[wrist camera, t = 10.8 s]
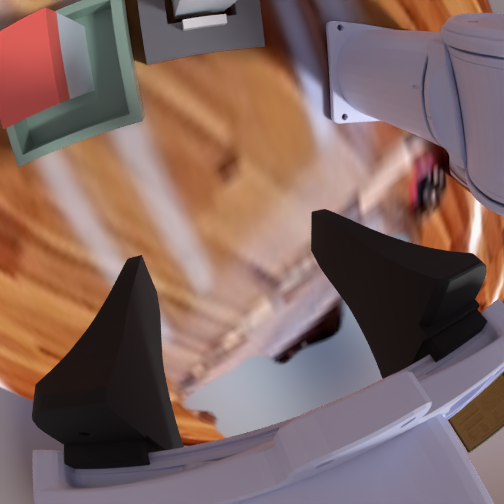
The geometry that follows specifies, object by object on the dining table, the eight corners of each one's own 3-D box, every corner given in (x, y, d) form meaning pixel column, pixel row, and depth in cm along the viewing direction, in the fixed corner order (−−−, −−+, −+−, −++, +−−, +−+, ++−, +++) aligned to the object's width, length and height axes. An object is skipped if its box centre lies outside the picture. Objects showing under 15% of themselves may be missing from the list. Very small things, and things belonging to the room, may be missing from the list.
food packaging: (423, 344, 51) (486, 435, 32) (396, 350, 47) (465, 457, 28) (461, 293, 45) (539, 388, 25) (439, 294, 41) (528, 406, 22)
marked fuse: (84, 26, 11) (45, 7, 6) (95, 90, 14) (60, 103, 9) (41, 44, 11) (-14, 39, 5) (52, 106, 14) (3, 130, 8)
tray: (124, -3, 11) (120, -13, 10) (144, 114, 17) (142, 120, 15) (7, 46, 10) (-10, 46, 8) (32, 155, 15) (18, 167, 13)
